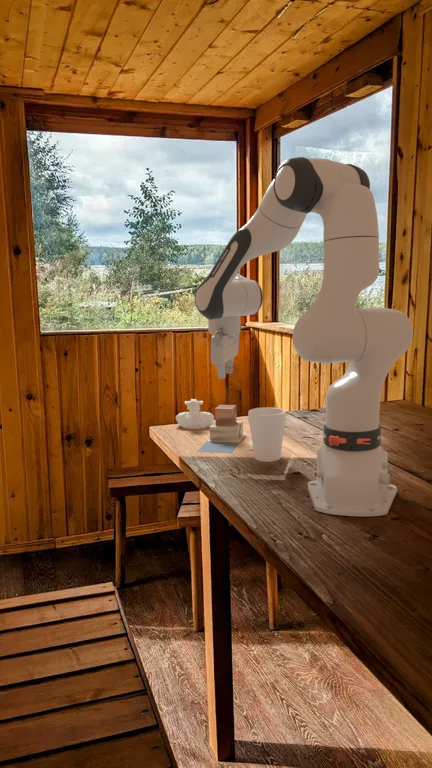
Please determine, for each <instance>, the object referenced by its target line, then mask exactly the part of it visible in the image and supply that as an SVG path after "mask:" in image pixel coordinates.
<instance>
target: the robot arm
mask: <svg viewBox="0 0 432 768" xmlns="http://www.w3.org/2000/svg"><path fill="white" fill-rule="evenodd" d="M374 197H375V196H374V195H373V192H372V191H371V181H370V178H369V176H368V174H367V172H366V171H365V170H363V169H362V168H360V167H359V166H357V165H354V164H351V163H342V162H339V161H334V160H331V159H327V158H317V157H315V158H314V157H310V158H306V157H303V156H298V157H292V158H291V157H290V158H288V159H286V160H284V161H282V163H281V164H280V165H279V166H278V168H277V170H276V172H275V175H274V178H273V179H272V181H271V183H270V184H269V186H268V188H267V189H266V191H265V193H264V195H263V197H262V199H261V201H260V203H259V205H258V207H257V209H256V210H255V212H254V214H253V215H252V216H251V217H250V219H249V220H247V222H246V223H245V224H244V225H243V226H242V227H241V228H240V229H238V230H237V231H236V232H235V233H233V235H232V237H230V239H229V241H228V242H227V244H226V245H225V247H224V249H223V251H222V252H221V254H219V255H220V256H219V257H218V258H217V261H216V262H215V264H214V265H213V267H212V268H211V270H210V272H209V274H208V275H207V276H206V277H205V279H203V281H202V282H201V283H200V284H199V285H198V287H197V289H196V291H195V295H194V303H195V308H196V309H197V310H198V312H199V314H201V315H202V316H203V317H205V318H206V319H207V323H208V334H211V335H212V336H211V339H210V362H211V365H216V366H215V367H216V371H217V377H218V379H219V380H223V379H225V378H226V374H228V375H230V374H232V373H233V368H234V367H233V366H234V358H235V357H237V356H238V355H239V345H240V333H241V330H242V324H241V317H243V316H251V315H255V314H257V313H258V312H259V311H260V309H261V307H262V306H263V301H264V292H263V290H262V287H261V286H260V284H259V283H258V282H257V280H252V279H250V278H247V277H245V276H244V275H241V274H240V273H239V271H240V270H241V268H242V267H243V266H244V265H245V264H246V263H247V262H249V261H251V260H253V259H255V258H258V257H261V256H264V255H267V254H271V253H274V252H278V251H281V250H283V249H285V248H287V247H288V246H290V244H291V243H292V242H293V241H294V240H295V238H296V237H297V235H298V233H299V232H300V229H301V227H302V225H303V224H304V221H305V219H306V216H307V215H308V214H310V213H315V214H316V215H317V214H318V215H319V216H320V217H321V219H322V224H323V270H322V271H323V272H322V281H321V285H320V289H319V292H318V294H317V296H316V298H315V300H314V302H313V303H312V305H311V306H310V307H309V308H308V310H306V312H305V313H303V314H302V315H300V317H299V319H297V321H296V323H295V325H294V328H293V330H292V343H293V346H294V349H295V352H296V353H297V355H298V356H299V357H300V358H301V359H302V360H304V361H307V362H313V363H319V364H337V363H349V364H348V367H347V369H346V371H345V372H344V374H343V375H342V376H341V377H340V378H339V379H337V380H335V381H334V382H332V384H330V385H329V387H328V389H327V390H326V393H325V394H326V395H325V424H324V425H323V431H322V437H323V445H322V446H321V447H319V449H317V451H316V454H317V455H316V458H317V459H316V471H315V472H314V477H315V478H316V479H315V480H310V481H308V483H307V490H308V493H309V497H310V498H311V503H312V505H313V507H314V511H316V512H321V513H324V514H329V515H335V516H346V517H380V516H385V515H388V514H389V510H391V509H390V508H391V506H392V504H393V501H394V499H395V497H396V494H397V492H398V488H397V486H396V485H394V484H390V483H391V474H390V473H388V470H389V469H390V463H389V462H388V452H387V451H386V450H385V449H383V448H382V446H381V445H382V427H381V426H380V407H381V395H382V389H383V386H384V383H385V380H386V378H387V376H388V373H389V372H390V370H391V368H392V367H393V365H394V364H395V363H396V362H397V360H398V359H399V358H400V357H401V356H402V355H404V354H405V353H407V351H408V350H409V348H410V347H411V344H412V342H413V337H414V331H413V330H414V329H413V325H412V322H411V320H410V318H409V317H408V316H407V314H406V313H405V312H403V311H401V310H398V309H393V308H387V307H365V308H361V307H360V308H356V305H357V300H358V298H359V296H360V293H361V292H362V291H364V290H366V289H368V288H369V287H371V286H372V285H373V284H374V283H375V282H376V281H377V279H378V277H379V274H380V238H379V237H380V232H379V223H378V222H379V220H378V213H377V208H376V202H375V198H374Z"/></svg>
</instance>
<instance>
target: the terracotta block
mask: <svg viewBox="0 0 432 768" xmlns="http://www.w3.org/2000/svg"><path fill="white" fill-rule="evenodd" d="M214 409H215V410H214V411H215V416H214V417H215V421H216V426H234V425H235V423H236V422H237V421H238V420H237V405H236V404H218V405H217V407H215V408H214Z"/></svg>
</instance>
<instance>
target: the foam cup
mask: <svg viewBox="0 0 432 768" xmlns="http://www.w3.org/2000/svg"><path fill="white" fill-rule="evenodd" d="M247 413H248V414H247V417H248V418H247V419H248V423H249V429H250V431H249V432H250V436H251V443H252V450H253V455H254V459H255V460H256V461H259V462H268V463H271V462H276V461H278V460H280V459H282V458H281V457H282V448H283V440H284V432H285V423H286V417H287V416H286V410H285V409H283V408H279V407H256V408H251V409H249V410H248V412H247Z"/></svg>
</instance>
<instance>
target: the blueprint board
mask: <svg viewBox="0 0 432 768" xmlns="http://www.w3.org/2000/svg"><path fill="white" fill-rule="evenodd" d="M246 435H247V434H246V433H243V435H242V436H241V438H240V439H239V440H238V442H236V441H210V437H209V438H208V439H207V441H205V442H204V443H203V444H202V446H201V447H200V448H198V450H197V451H196V452H197V453H208V454H209V453H210V454H211V453H213V454H214V453H215V454H233V453H234V451H235V450H236V448H237V447H238V446H239V445H240V443H241V442H242V441H243V439H244V438H245V437H246Z"/></svg>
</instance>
